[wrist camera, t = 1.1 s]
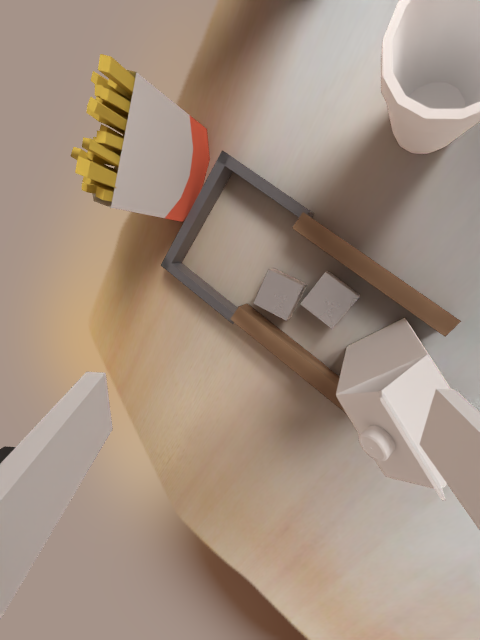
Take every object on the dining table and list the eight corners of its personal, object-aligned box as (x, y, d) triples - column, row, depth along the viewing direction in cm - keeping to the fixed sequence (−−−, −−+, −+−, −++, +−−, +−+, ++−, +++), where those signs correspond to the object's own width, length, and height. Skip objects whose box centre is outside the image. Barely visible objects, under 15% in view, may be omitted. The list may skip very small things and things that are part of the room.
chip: (275, 268, 40) (268, 269, 37) (307, 284, 39) (303, 286, 36) (260, 300, 41) (253, 303, 39) (291, 316, 40) (286, 320, 37)
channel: (307, 215, 37) (303, 211, 34) (453, 316, 34) (460, 321, 31) (239, 315, 42) (230, 319, 40) (358, 411, 39) (357, 422, 36)
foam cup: (387, 185, 34) (399, 144, 22) (366, 96, 33) (365, 4, 21) (496, 145, 30) (582, 70, 18) (474, 44, 29) (548, -104, 17)
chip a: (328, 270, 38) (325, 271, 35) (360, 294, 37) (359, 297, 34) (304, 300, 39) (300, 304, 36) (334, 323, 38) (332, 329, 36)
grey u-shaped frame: (230, 156, 39) (222, 150, 37) (313, 213, 37) (310, 211, 35) (171, 264, 45) (160, 265, 43) (239, 320, 43) (232, 324, 40)
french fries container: (164, 213, 44) (43, 186, 27) (185, 128, 41) (61, 39, 24) (192, 224, 43) (83, 202, 26) (216, 136, 39) (108, 48, 23)
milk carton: (404, 316, 35) (441, 373, 18) (439, 372, 35) (511, 484, 18) (346, 346, 38) (328, 419, 21) (378, 397, 38) (387, 515, 20)
